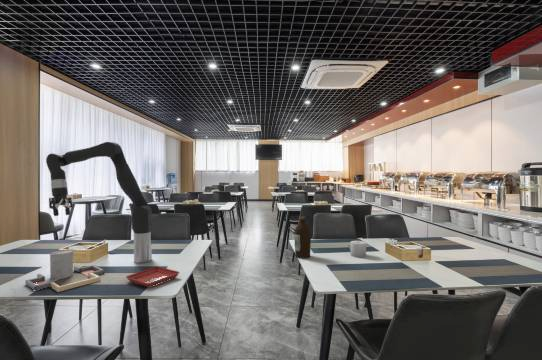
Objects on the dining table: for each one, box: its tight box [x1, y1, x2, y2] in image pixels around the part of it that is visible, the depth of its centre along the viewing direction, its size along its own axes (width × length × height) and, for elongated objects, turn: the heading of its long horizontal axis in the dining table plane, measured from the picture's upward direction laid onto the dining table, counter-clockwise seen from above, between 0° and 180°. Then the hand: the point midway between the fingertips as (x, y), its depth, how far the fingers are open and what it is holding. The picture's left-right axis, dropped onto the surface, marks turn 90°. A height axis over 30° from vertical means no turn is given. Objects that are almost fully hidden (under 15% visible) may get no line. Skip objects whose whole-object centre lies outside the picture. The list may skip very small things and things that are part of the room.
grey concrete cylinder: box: [49, 249, 74, 280], centre depth 149 cm, size 10×10×12 cm
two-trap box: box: [25, 264, 105, 293], centre depth 144 cm, size 29×29×2 cm
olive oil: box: [293, 216, 312, 259], centre depth 184 cm, size 11×11×25 cm
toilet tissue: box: [347, 240, 367, 259], centre depth 187 cm, size 9×13×9 cm
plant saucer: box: [125, 266, 180, 288], centre depth 143 cm, size 18×18×3 cm
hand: (62, 215), depth 169 cm, fingers open, 8 cm apart
